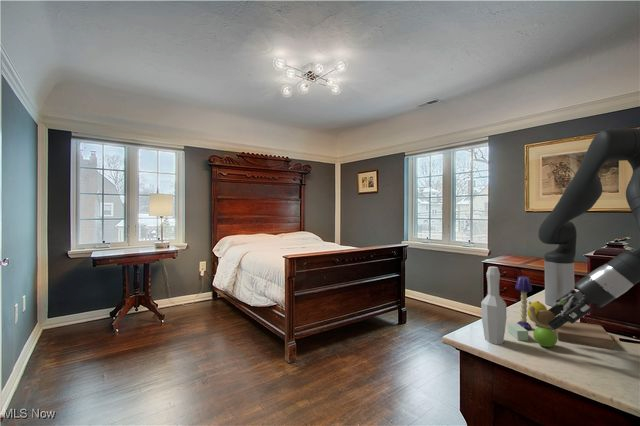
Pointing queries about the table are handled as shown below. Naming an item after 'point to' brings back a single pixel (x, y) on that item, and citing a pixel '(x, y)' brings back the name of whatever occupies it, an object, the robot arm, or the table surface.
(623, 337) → the table surface
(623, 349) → the table surface
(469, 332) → the table surface
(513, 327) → the sage block
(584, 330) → the walnut block
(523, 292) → the toy lamp
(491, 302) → the low poly bottle
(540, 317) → the snail figurine
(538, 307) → the lemon
